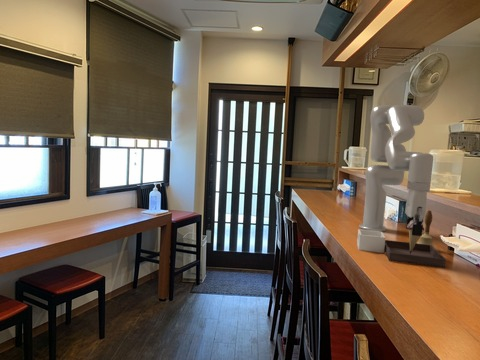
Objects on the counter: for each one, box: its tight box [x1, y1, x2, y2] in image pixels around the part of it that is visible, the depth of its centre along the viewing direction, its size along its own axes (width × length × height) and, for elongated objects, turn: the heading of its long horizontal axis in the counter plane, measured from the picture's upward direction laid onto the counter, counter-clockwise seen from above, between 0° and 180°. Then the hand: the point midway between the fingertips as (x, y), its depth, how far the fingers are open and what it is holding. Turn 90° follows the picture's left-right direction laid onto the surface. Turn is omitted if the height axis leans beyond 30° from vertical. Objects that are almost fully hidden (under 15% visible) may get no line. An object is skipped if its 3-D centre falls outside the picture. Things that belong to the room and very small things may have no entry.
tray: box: [384, 239, 447, 269], centre depth 129 cm, size 18×18×3 cm
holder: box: [356, 228, 386, 254], centre depth 137 cm, size 9×9×6 cm
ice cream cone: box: [407, 219, 425, 254], centre depth 128 cm, size 6×6×15 cm
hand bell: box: [417, 209, 435, 248], centre depth 139 cm, size 8×8×16 cm
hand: (413, 232), depth 128 cm, fingers open, 9 cm apart
